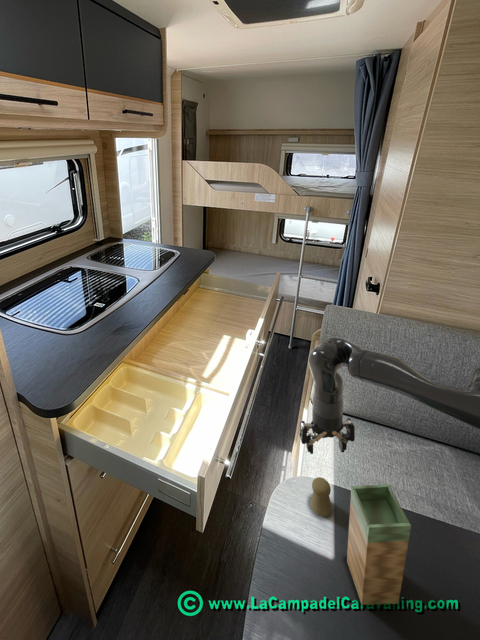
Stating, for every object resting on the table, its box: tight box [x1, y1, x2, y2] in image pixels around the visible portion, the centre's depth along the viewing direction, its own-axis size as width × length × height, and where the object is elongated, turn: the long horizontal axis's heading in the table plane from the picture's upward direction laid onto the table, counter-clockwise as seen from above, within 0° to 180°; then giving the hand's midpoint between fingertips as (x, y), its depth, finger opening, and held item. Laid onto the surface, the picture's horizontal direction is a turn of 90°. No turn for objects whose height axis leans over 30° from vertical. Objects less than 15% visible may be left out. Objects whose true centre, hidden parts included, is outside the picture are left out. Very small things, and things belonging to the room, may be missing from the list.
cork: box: [310, 476, 332, 517], centre depth 97 cm, size 6×6×11 cm
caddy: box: [346, 483, 412, 606], centre depth 77 cm, size 9×9×30 cm
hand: (326, 450), depth 91 cm, fingers open, 8 cm apart
